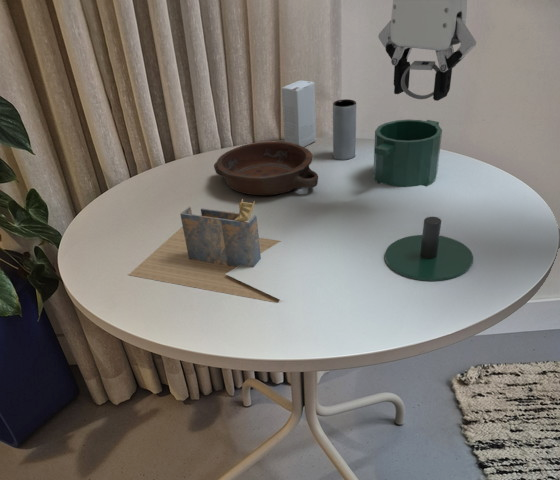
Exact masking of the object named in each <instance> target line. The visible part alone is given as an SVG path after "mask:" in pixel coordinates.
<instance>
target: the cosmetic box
mask: <svg viewBox="0 0 560 480" xmlns="http://www.w3.org/2000/svg"><path fill="white" fill-rule="evenodd" d="M281 97H282V117H283V119H282V120H283V135H284V136H283V137H284V142H289V143H293V144H297V145H300V146H302V147H304V148H306V147H307V146H309V145H310V144H313V143H315V142H316V141H317V121H316V120H317V119H316V83H315V81H309V80H302V79H301V80H297V81H295V82H292V83H290V84H287V85H285V86H282V87H281Z"/></svg>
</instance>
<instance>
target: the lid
mask: <svg viewBox="0 0 560 480" xmlns="http://www.w3.org/2000/svg"><path fill="white" fill-rule="evenodd" d="M441 228H442V219H441V218H440V217H438V216H427V217H425V218H424V219H423V224H422V232H421V233H422V234H415V235H409V236H405V237H402V238H399V239H397V240H395V241H393V242H391V243H390V244H389V245H388V247H387V248H386V249H385V253H384V260H385V262H386V266H388V268H390V269H391V270H392V271H393V272H395V273H396V274H398V275H401V276H402V277H404V278H409V279H413V280H418V281H425V282H439V281H446V280H452V279H456V278H457V277H461V276H462V275H464V274H465V273H467V272H468V271H469V270H470V269H471V268H472V266H473V262H474V255H473V252H472V251H471V249H470V248H469V247H468V246H467V245H466V244H464V243H462V242H461V241H459V240H456V239H454V238H451V237H448V236H443V235H440V234H441Z"/></svg>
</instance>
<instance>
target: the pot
mask: <svg viewBox="0 0 560 480" xmlns="http://www.w3.org/2000/svg"><path fill="white" fill-rule="evenodd" d="M442 134H443V129H442V127H441V126H440V122H439V121H436V120H432V119H427V120H422V119H397V120H392V121H388V122H385V123H382V124H380V125H378V126H377V128H376V129H375V130H374V146H373V147H374V150H373V174H372V175H373V179H374V181H375V183H377V184H378V185H379V184H383V185H388V186H391V187H400V188H401V187H403V188H410V187H418V186H423V187H428V186H430V185H432V184H433V183H434V182H435V181H436V180H437V176H438V170H439V162H440V153H441V147H442V146H441V144H442V136H443V135H442Z"/></svg>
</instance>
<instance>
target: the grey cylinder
mask: <svg viewBox="0 0 560 480" xmlns="http://www.w3.org/2000/svg"><path fill="white" fill-rule="evenodd" d="M356 143H357V102H356V101H355V100H354V99H347V98H346V99H337V100H335V101H333V103H332V155H333V156H332V157H333V158H334V159H337V160H343V161H345V160H352V159H353V158H355V157H356V149H357V148H356V147H357V144H356Z"/></svg>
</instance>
